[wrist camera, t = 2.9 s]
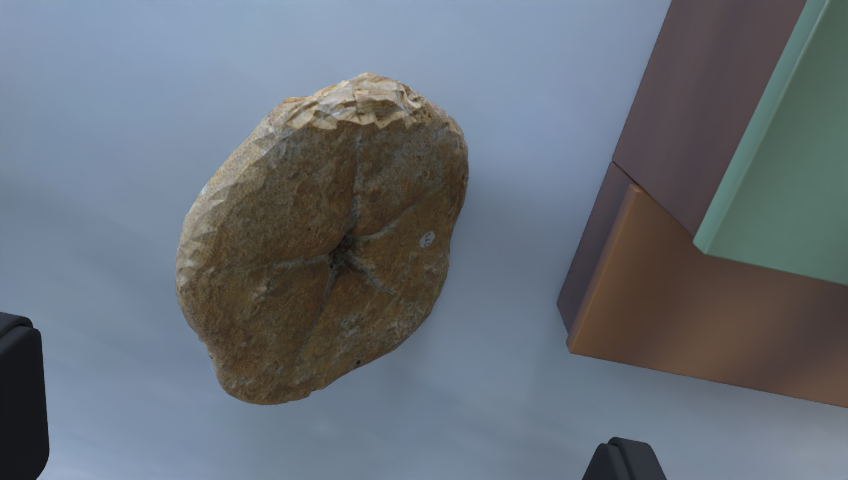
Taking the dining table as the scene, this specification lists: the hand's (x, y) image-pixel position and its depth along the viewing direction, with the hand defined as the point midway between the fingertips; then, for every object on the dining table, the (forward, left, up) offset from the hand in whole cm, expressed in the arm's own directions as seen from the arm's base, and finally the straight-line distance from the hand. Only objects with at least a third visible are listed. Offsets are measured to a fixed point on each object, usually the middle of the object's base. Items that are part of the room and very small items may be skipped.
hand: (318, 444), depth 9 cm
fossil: (-1, 0, -10) cm, 10 cm away
